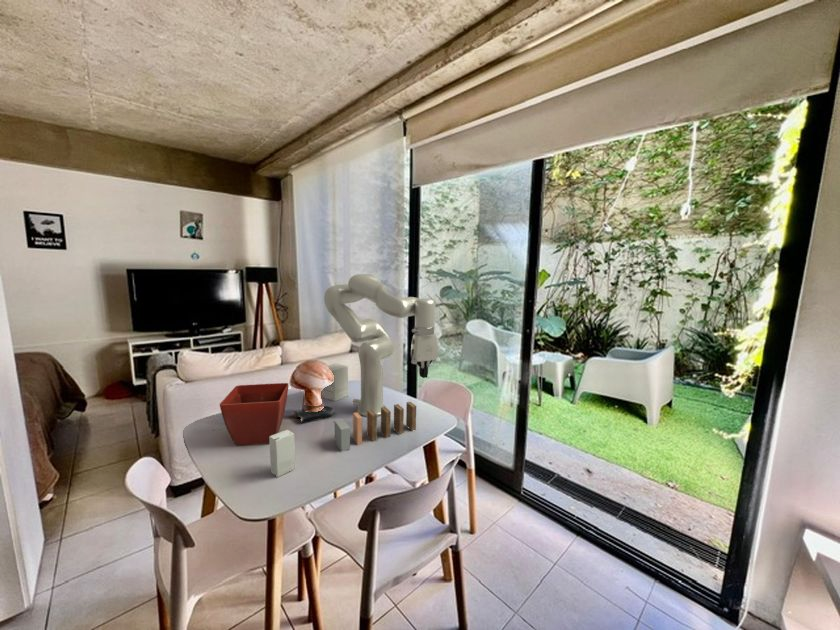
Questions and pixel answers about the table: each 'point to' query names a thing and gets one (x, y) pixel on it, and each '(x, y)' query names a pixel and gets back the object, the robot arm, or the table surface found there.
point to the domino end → (357, 428)
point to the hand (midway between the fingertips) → (423, 376)
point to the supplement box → (337, 383)
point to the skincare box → (282, 452)
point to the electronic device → (315, 414)
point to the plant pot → (254, 412)
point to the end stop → (342, 434)
